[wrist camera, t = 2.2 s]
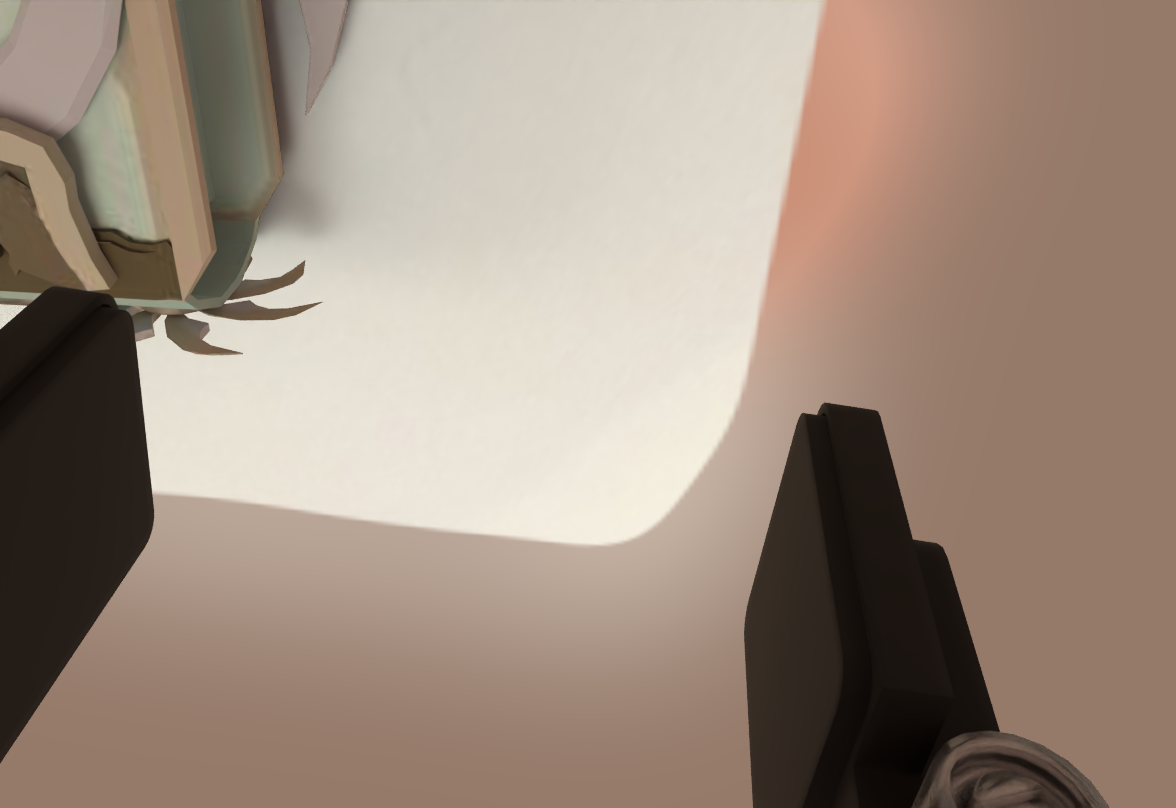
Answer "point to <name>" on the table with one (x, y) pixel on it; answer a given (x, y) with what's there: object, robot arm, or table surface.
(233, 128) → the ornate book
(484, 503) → the table surface
